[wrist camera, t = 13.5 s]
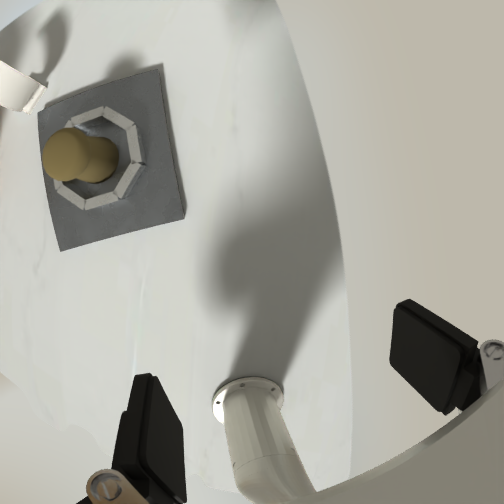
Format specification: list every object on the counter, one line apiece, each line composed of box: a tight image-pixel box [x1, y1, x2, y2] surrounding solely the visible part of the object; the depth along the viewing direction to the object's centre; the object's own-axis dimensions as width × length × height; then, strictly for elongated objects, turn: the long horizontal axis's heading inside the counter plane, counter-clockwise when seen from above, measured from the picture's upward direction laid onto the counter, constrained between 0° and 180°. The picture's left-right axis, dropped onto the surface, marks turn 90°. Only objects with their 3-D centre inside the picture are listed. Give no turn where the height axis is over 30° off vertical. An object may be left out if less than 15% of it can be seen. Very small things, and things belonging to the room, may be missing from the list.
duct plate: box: [38, 69, 185, 252], centre depth 29 cm, size 20×18×4 cm
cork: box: [42, 127, 119, 184], centre depth 24 cm, size 6×6×11 cm
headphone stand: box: [0, 60, 47, 115], centre depth 20 cm, size 5×6×12 cm
